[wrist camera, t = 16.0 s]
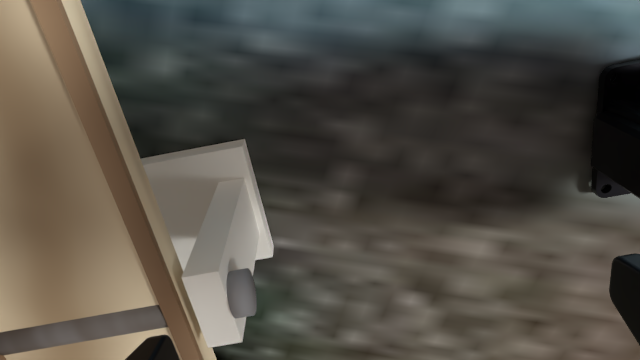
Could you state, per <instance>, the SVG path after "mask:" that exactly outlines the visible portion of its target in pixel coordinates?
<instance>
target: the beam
mask: <svg viewBox="0 0 640 360" xmlns="http://www.w3.org/2000/svg"><path fill="white" fill-rule="evenodd" d="M182 275H183V269H182V267H181V264H180V262H179V259H178V256H177V254H176V251H175V248H174V246H173V243H172V240H171V238H170V235H169V233H168V230H167V227H166V225H165V222H164V219H163V217H162V214H161V212H160V209H159V206H158V204H157V201H156V198H155V196H154V193H153V190H152V188H151V185H150V183H149V180H148V177H147V175H146V172H145V169H144V167H143V164H142V162H141V159H140V156H139V154H138V151H137V148H136V146H135V143H134V140H133V138H132V135H131V133H130V130H129V127H128V125H127V122H126V119H125V117H124V114H123V112H122V109H121V106H120V104H119V101H118V98H117V96H116V93H115V90H114V88H113V85H112V83H111V80H110V77H109V75H108V72H107V69H106V67H105V64H104V62H103V59H102V56H101V54H100V51H99V48H98V46H97V43H96V40H95V38H94V35H93V33H92V30H91V27H90V25H89V22H88V19H87V17H86V14H85V12H84V9H83V6H82V4H81V1H80V0H0V360H125V359H126V358H127V357H128V356H129V355H130V354H131V353H132V352H133V351H134V350H135V349H136V348H137V347H138V346H139V345H140V344H141V343H142V342H143V341H144V340H146V339H147V338H149V337H152V336H158V335H164V334H165V335H168V336H169V337H170V338H171V340H172V342H173V344H174V347H175V349H176V351H177V354H178V356H179V358H180V360H217V359H216V356H215V354H214V351H213V348H212V347H210V348H208V346H207V343H206V341H205V338H204V336H203V333H202V330H201V328H200V325H199V323H198V320H197V317H196V315H195V312H194V310H193V307H192V304H191V302H190V299H189V297H188V294H187V291H186V289H185V286H184V284H183V281H182V278H181V277H182Z"/></svg>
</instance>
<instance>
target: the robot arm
mask: <svg viewBox="0 0 640 360" xmlns="http://www.w3.org/2000/svg"><path fill="white" fill-rule="evenodd" d="M614 73H616V78H615V79H614V80H613V81H610V79H611V76H612V75H613V74H614ZM591 166H592V167H593V171H592V185H591V188H592V191H593V192H594V193H595V194H596V195H597V196H599V197H601V198H607V197H612V196H618V195H624V194H629V193H632V194H634V195H635V196H637V197H638V198H640V60H637V61H631V62H626V63H621V64H616V65H611V66H608V67H606V68H605V69H604V70H603V71H602V73H601V74H600V78H599V89H598V103H597V115H596V116H595V118H594V127H593V141H592V155H591ZM606 184H607V185H606ZM604 185H606V187H605V188H604V189H602V190H601V188H602V187H603V186H604ZM609 292H610V297H611V300H612V302H613V304H614V305H615V307H616V308H617V310H618V312H619V313H620V315H621V316H622V318H623V320H624V321H625V323H626V324H627V326H628V328H629V329H630V331H631V332H632V334H633V335H634V337H635V339H636V340H637V342H638V343H639V345H640V254H629V255H623V256H618V257H616V258H614V260H613V262H612V268H611V278H610V287H609ZM125 360H180V358H179V356H178V354H177V351H176V349H175V347H174V344H173V342H172V340H171V338H170V337H169V336H168V335H165V334H164V335H158V336H152V337H149V338H147V339H146V340H144V341H143V342H142V343H141V344H140V345H139V346H138V347H137V348H136V349H135V350H134V351H133V352H132V353H131V354H130V355H129V356H128V357H127V358H126V359H125Z"/></svg>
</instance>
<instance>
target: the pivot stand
mask: <svg viewBox="0 0 640 360" xmlns="http://www.w3.org/2000/svg"><path fill="white" fill-rule="evenodd" d="M141 162H142V164H143V167H144V169H145V172H146V175H147V177H148V180H149V183H150V185H151V188H152V190H153V193H154V196H155V198H156V201H157V204H158V206H159V209H160V212H161V214H162V217H163V219H164V222H165V225H166V227H167V230H168V233H169V235H170V238H171V240H172V243H173V246H174V248H175V251H176V254H177V256H178V259H179V262H180V264H181V267H182V269H183V275H182V277H181V278H182V281H183V284H184V286H185V289H186V291H187V294H188V297H189V299H190V302H191V304H192V307H193V310H194V312H195V315H196V317H197V320H198V323H199V325H200V328H201V330H202V333H203V336H204V338H205V341H206V343H207V346H208V348H210V347H216V346H222V345H228V344H234V343H240V342H242V340H243V334H244V328H245V322H246V317H248V316H254V315H255V313H256V307H257V299H256V289H255V284H254V279H253V271H254V265H255V260H259V259H264V258H270V257H273V249H274V245H273V241H272V238H271V234H270V230H269V227H268V223H267V219H266V216H265V212H264V208H263V204H262V201H261V197H260V193H259V190H258V186H257V182H256V178H255V175H254V171H253V167H252V164H251V160H250V156H249V152H248V149H247V145H246V141H245V139H241V140H236V141H231V142H225V143H220V144H215V145H210V146H204V147H199V148H194V149H189V150H183V151H178V152H173V153H167V154H162V155H157V156H152V157H146V158H141Z"/></svg>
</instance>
